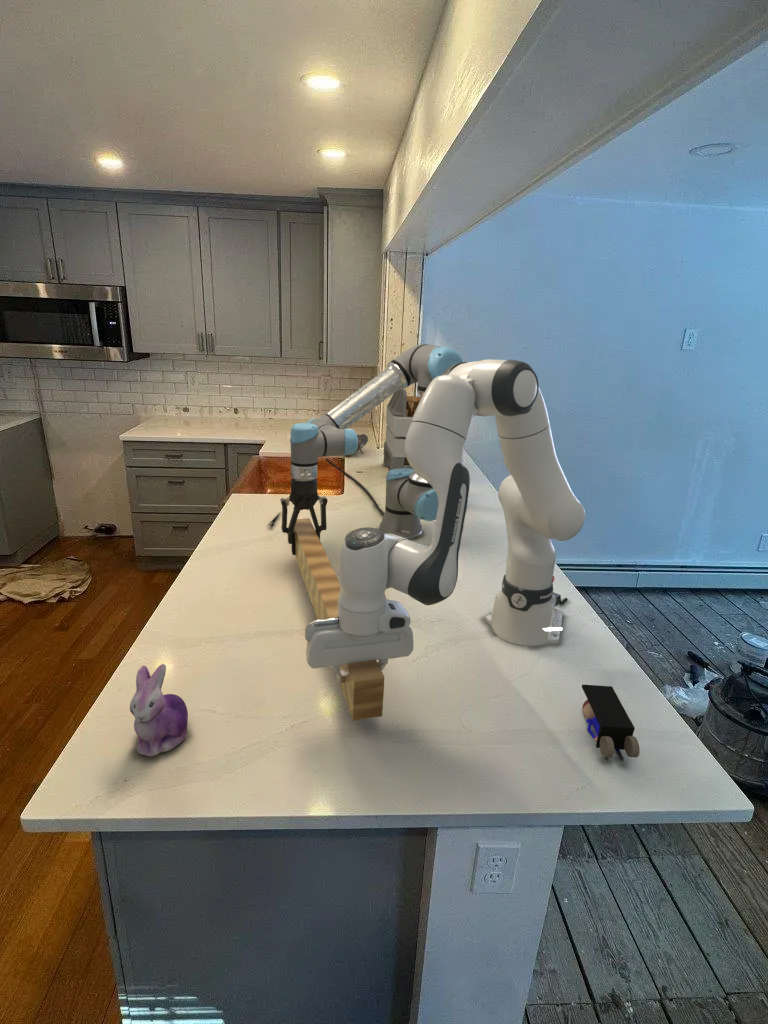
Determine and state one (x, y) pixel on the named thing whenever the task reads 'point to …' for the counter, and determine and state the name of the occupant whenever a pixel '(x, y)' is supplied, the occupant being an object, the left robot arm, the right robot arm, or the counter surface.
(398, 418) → the grey boxy frame
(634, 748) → the figurine character
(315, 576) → the post
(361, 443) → the fossil
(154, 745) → the figurine
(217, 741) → the counter surface
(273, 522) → the feather
